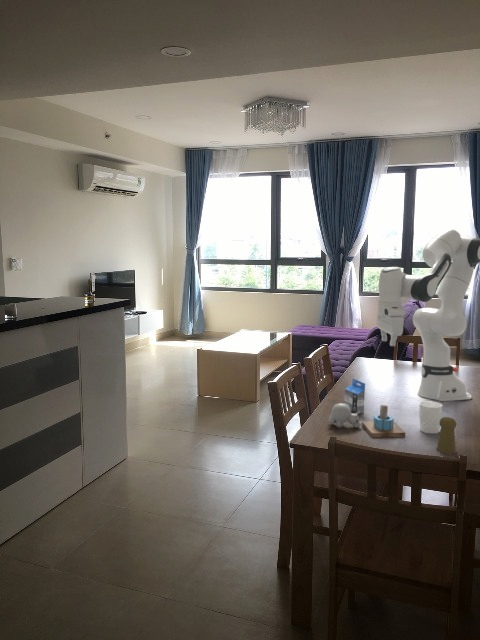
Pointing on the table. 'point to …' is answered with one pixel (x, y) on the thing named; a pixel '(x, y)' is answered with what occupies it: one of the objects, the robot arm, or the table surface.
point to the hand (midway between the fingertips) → (388, 343)
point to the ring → (383, 423)
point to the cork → (447, 436)
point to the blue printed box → (355, 397)
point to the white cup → (430, 416)
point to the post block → (383, 433)
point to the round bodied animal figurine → (343, 416)
